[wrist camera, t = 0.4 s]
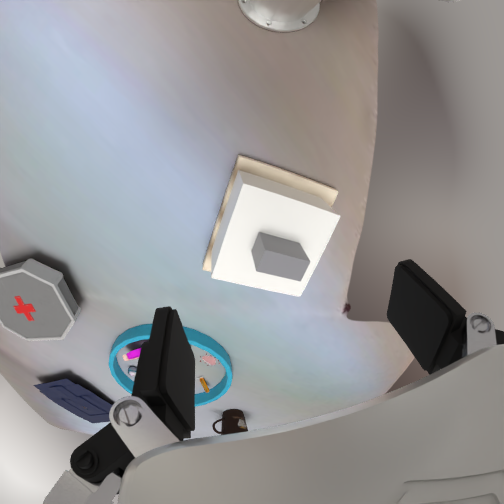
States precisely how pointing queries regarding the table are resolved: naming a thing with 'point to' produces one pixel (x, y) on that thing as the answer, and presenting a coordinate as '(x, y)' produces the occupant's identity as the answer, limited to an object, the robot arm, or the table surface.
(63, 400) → the navy flat slab
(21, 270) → the first aid kit
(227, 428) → the coffee mug
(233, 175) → the birch board
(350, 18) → the table surface
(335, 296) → the table surface
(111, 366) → the blue ring
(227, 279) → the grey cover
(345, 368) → the table surface
